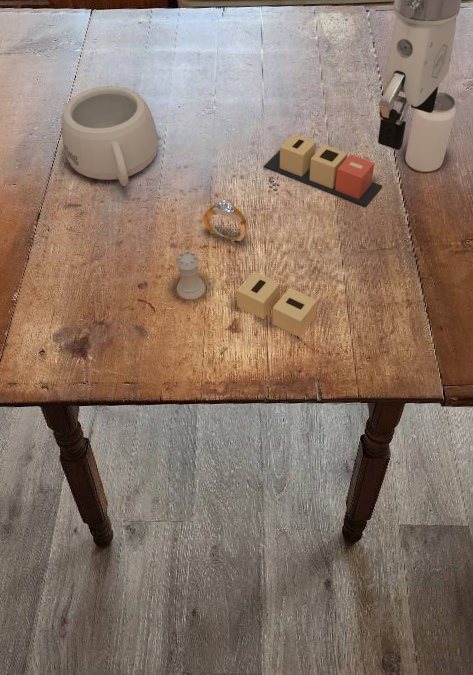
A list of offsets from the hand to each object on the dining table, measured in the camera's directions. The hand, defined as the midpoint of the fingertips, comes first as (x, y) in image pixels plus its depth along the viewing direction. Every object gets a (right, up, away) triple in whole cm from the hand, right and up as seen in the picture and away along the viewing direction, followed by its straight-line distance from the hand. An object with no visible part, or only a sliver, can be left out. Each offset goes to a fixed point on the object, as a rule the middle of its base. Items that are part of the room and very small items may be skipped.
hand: (406, 127), depth 91 cm
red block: (-3, -3, +24) cm, 24 cm away
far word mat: (-8, -1, +26) cm, 27 cm away
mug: (-44, +3, +30) cm, 54 cm away
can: (+10, +2, +28) cm, 30 cm away
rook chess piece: (-29, -22, +11) cm, 38 cm away
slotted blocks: (-15, -26, +6) cm, 31 cm away
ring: (-24, -13, +17) cm, 33 cm away
